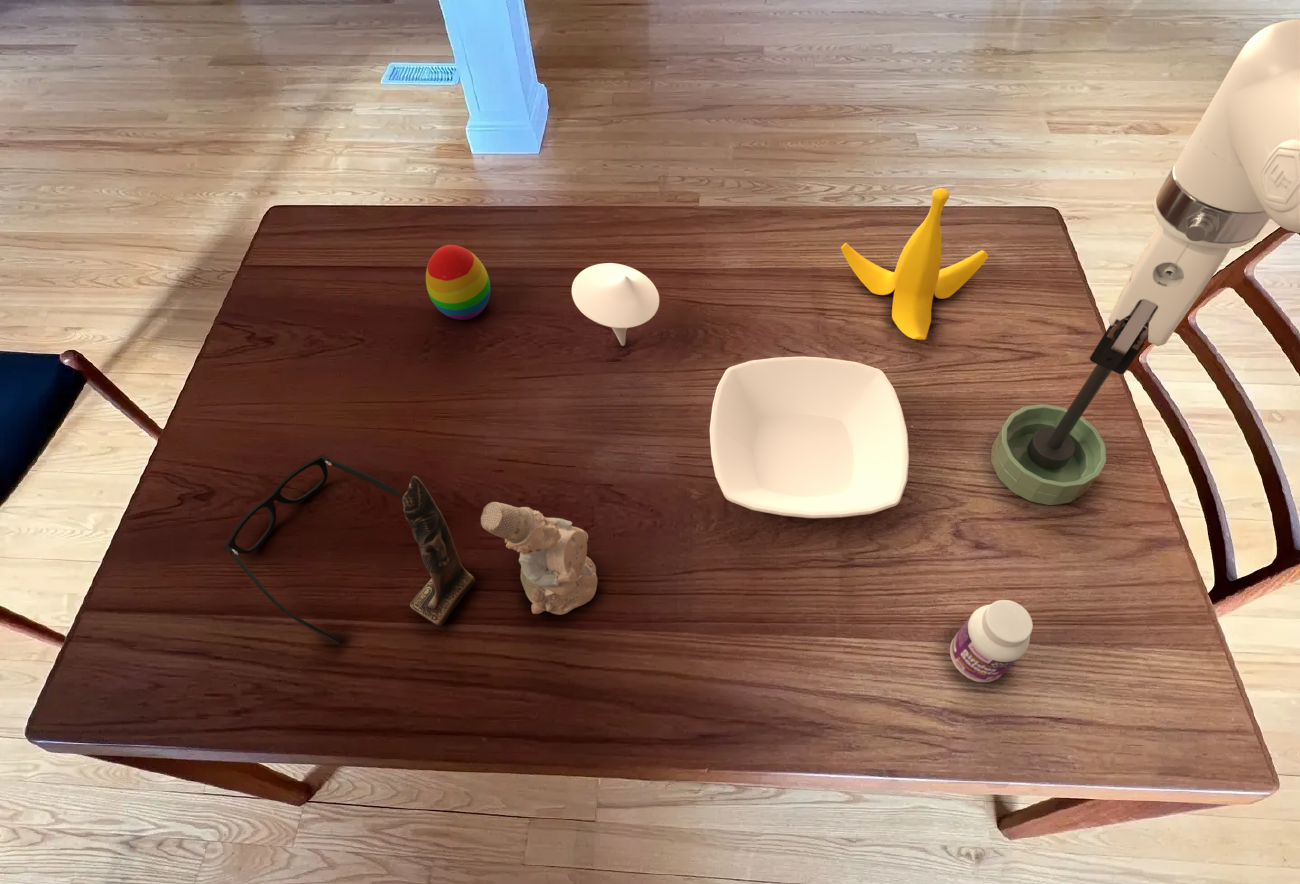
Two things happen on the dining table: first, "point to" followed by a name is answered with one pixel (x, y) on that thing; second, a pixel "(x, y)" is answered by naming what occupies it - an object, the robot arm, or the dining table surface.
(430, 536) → the statue
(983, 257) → the banana peel
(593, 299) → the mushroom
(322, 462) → the glasses
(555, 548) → the figurine
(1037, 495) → the green round dish
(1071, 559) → the dining table surface
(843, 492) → the bowl
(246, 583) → the dining table surface
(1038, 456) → the disc-footed rod
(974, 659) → the pill bottle
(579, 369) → the dining table surface
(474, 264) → the decorative egg
